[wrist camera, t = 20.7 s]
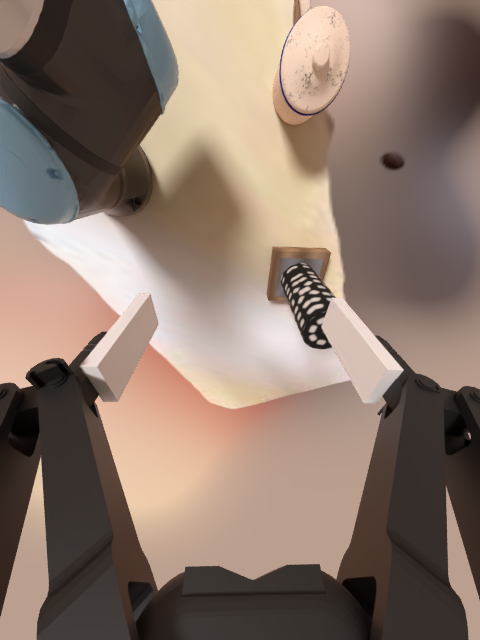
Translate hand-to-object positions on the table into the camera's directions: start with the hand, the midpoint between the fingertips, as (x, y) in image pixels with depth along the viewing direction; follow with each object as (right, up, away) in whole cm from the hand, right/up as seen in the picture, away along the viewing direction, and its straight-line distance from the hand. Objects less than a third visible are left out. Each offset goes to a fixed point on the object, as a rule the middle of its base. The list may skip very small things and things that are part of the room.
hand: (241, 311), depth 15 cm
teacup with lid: (+9, +39, +17) cm, 44 cm away
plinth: (+14, +12, +37) cm, 41 cm away
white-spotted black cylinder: (+14, +9, +34) cm, 38 cm away
